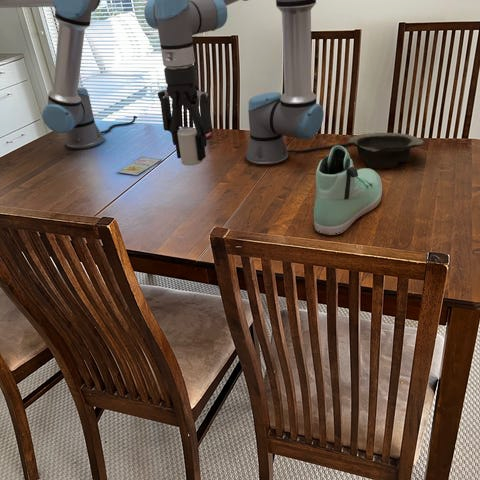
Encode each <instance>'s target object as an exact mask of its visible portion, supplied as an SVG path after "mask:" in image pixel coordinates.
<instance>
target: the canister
mask: <svg viewBox="0 0 480 480" xmlns="http://www.w3.org/2000/svg"><path fill="white" fill-rule="evenodd" d="M177 134H178V141H179V148H180V155H181V158H180V161H181V164H182V165H183V166H191V167H192V166H196V165H197V166H198V165H200V164H201V163H202V162H203V160H201V161H198V154H197V146H196V138H195V136H197V135H198V133H197V131H196V128H195V127H187V128H182V129H180V130H178V132H177Z"/></svg>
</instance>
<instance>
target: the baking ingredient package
mask: <svg viewBox="0 0 480 480" xmlns="http://www.w3.org/2000/svg"><path fill="white" fill-rule="evenodd" d="M160 161H161V159H154V158H148V157H140V158H138V159H137V160H135V161H133V162H132V163H130V164H129V165H127V166H124V167H123V168H121V169H120V170H118V171H117V173H120V174H128V175H133V176H134V175H135V176H137V175H139V174H140V173H142V172H144V171H146V170H147V169H149V168H150V167H152V166H153V165H156V164H158V162H160Z"/></svg>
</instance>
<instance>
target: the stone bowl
mask: <svg viewBox="0 0 480 480" xmlns="http://www.w3.org/2000/svg"><path fill="white" fill-rule="evenodd" d="M347 143H348V144H351V145H350V146H352V147H353V146H354V147H356V150H357V151H356V152H357V154H358V156H359V157H360V158H361V160H362V161H365V162H366V163H367V167H368V168H369V169H381V170H382V169H386V168H388V169H389V168H390V169H391V168H394V167H397V166H398V164H399V163H407V162H408V161H409V160H410V155H411V149H415V148H418V147H419V146H421V145H422V144H425V143H426V142H424V140H423V139H420V138H419V137H417V136H414V135H411V134H407V133H401V132H400V133H399V132H373V133H362V134H358V135H354V136H350V138H348V142H347Z"/></svg>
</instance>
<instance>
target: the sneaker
mask: <svg viewBox="0 0 480 480" xmlns="http://www.w3.org/2000/svg"><path fill="white" fill-rule="evenodd" d="M317 165H318V166H317V168H316V172H315V201H314V207H313V225H314V229H315V231H316V232H318V233H320V234H323V235H326V236H327V235H328V236H336V235H339V234H342V233H344V232H345V231H347V230H348V229H349V228H350V227H351V226H352V225H353V224H354V222H356V221H357V220H358V219H359V218H360V217H362V216H363V215H365V214H367V213H370V212H372V210H374V209H375V208H377V207H378V205H380V203H381V200H382V196H383V184H382V183H383V182H382V179H381V176H380V175H379V173H378V172H377V171H376V170H374V169H373V168H369V167H368V168H367V167H365V168H358V169H357V168H355V167H354V161H353V159H352V158H351V156H350V153H349V152H348V150H347V148H345V146H334V147H333V148H330V151H329V154H327V155H326V156H325V157H324V158H322V159H321V160H320V161H319V163H318V164H317ZM343 230H344V231H343ZM319 231H320V232H319ZM322 232H323V233H322ZM339 232H340V233H339ZM326 233H327V234H326ZM328 233H329V234H328ZM335 233H337V234H335Z"/></svg>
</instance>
